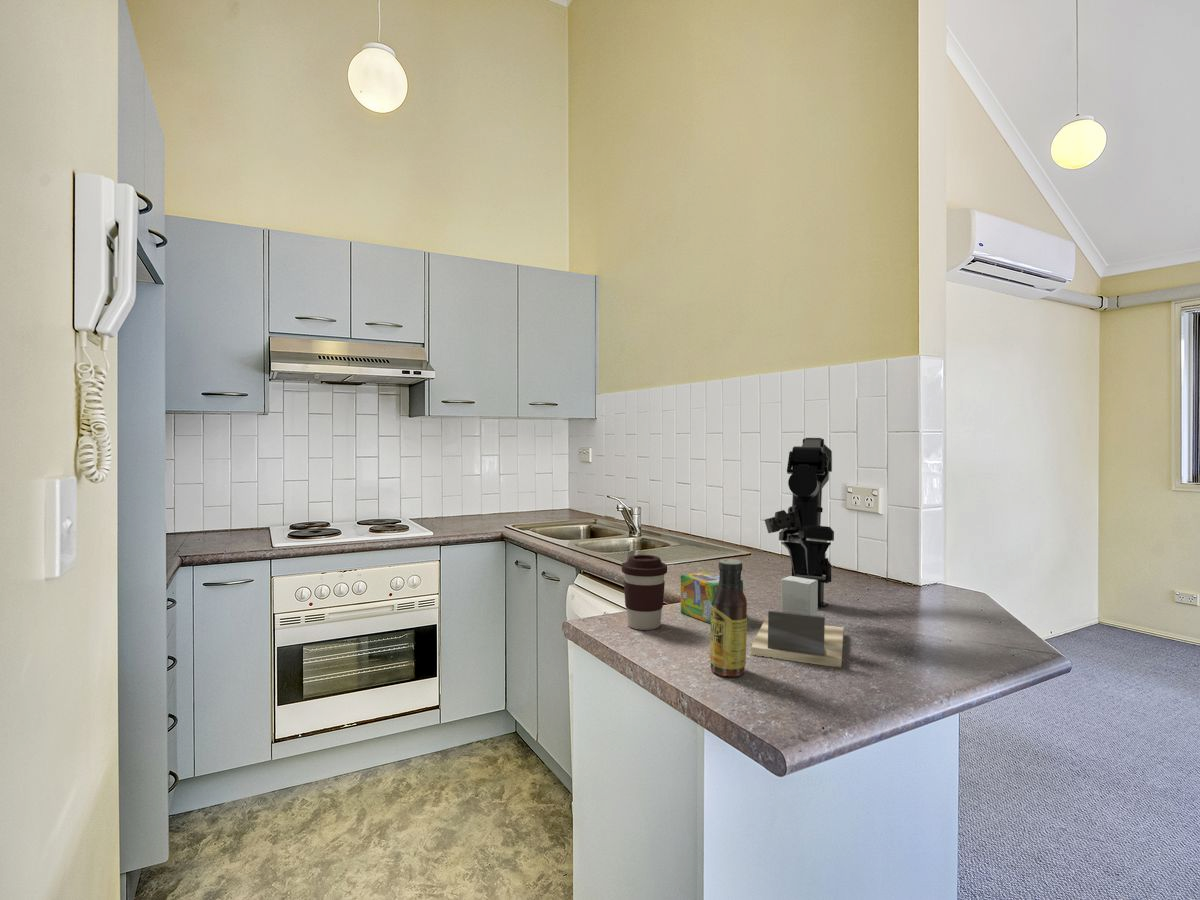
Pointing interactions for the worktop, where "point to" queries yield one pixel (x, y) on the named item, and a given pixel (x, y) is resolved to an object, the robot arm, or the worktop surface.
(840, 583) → the worktop surface
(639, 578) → the coffee cup
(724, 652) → the sauce bottle
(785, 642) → the base with upright panel
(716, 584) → the chalk box
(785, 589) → the skincare box
